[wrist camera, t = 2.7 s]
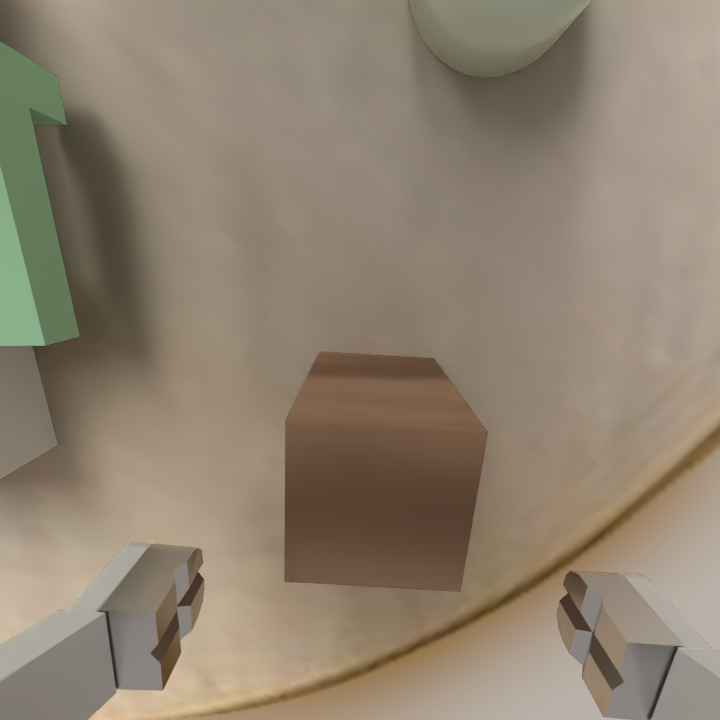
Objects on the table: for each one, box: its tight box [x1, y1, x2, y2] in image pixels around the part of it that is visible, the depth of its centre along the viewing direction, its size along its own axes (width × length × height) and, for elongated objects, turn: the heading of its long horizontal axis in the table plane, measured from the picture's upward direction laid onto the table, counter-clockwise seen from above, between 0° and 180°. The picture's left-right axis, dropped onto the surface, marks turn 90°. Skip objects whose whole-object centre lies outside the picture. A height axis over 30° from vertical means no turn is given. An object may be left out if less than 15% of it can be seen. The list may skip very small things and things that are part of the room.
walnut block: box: [285, 352, 488, 592], centre depth 13 cm, size 5×5×7 cm
